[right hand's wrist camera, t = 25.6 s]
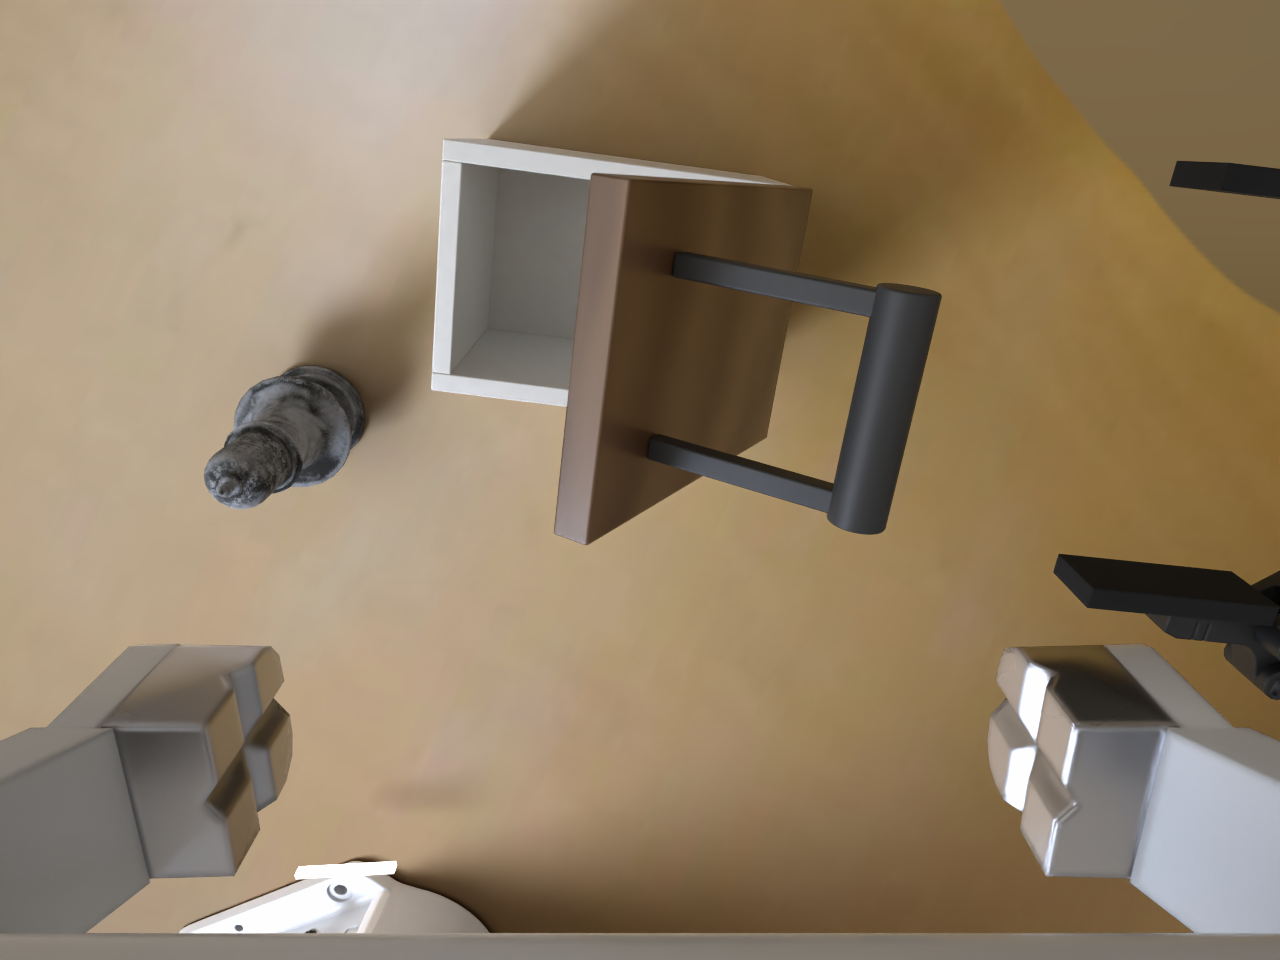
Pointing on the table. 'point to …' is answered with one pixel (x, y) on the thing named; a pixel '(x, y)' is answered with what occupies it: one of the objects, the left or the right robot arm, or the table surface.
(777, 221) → the lid
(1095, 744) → the right robot arm
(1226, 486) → the table surface
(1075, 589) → the left robot arm
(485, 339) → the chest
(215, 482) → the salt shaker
